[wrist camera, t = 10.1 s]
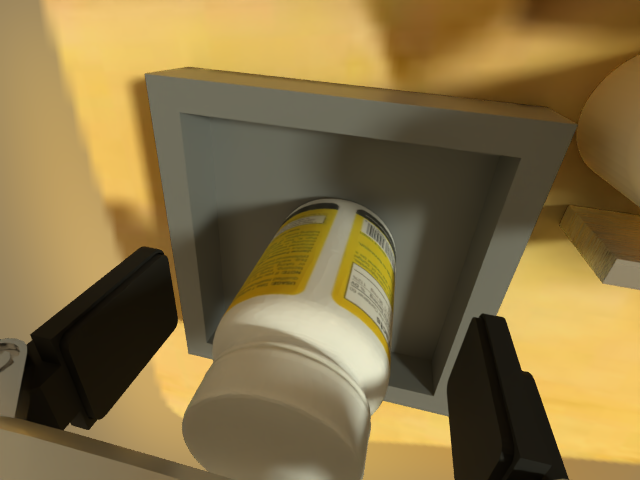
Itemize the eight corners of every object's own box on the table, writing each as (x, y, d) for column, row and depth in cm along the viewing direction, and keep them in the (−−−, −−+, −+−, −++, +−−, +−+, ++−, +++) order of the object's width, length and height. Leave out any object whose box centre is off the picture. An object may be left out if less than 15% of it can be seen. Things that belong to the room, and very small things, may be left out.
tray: (188, 66, 13) (144, 73, 11) (546, 107, 11) (577, 124, 9) (213, 318, 19) (188, 353, 17) (447, 370, 17) (452, 417, 15)
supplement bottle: (271, 275, 16) (159, 471, 9) (292, 178, 14) (159, 345, 6) (375, 310, 16) (344, 542, 9) (416, 219, 13) (421, 439, 6)
